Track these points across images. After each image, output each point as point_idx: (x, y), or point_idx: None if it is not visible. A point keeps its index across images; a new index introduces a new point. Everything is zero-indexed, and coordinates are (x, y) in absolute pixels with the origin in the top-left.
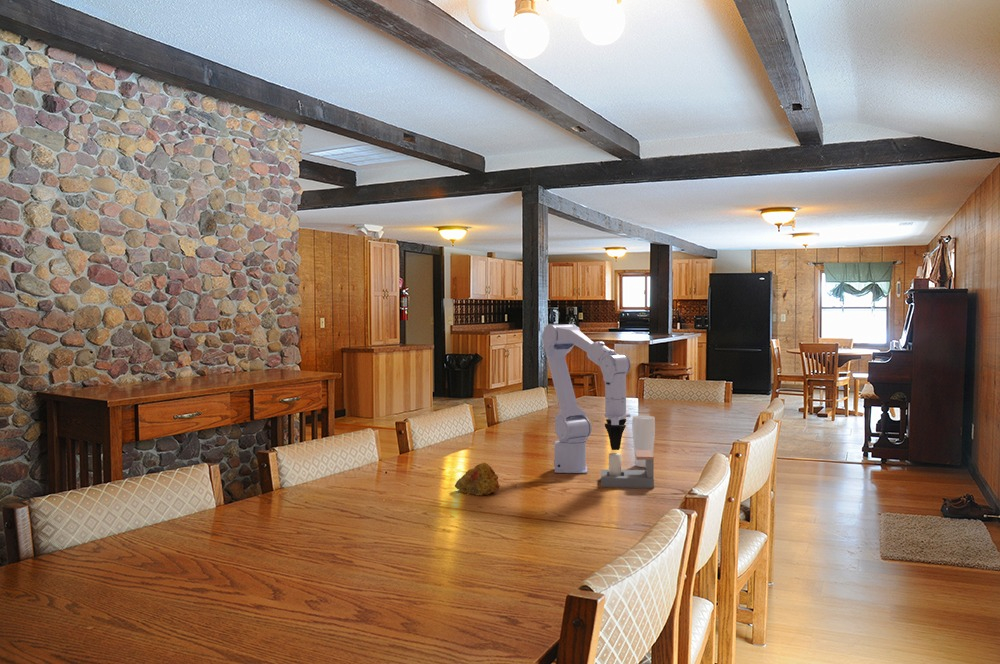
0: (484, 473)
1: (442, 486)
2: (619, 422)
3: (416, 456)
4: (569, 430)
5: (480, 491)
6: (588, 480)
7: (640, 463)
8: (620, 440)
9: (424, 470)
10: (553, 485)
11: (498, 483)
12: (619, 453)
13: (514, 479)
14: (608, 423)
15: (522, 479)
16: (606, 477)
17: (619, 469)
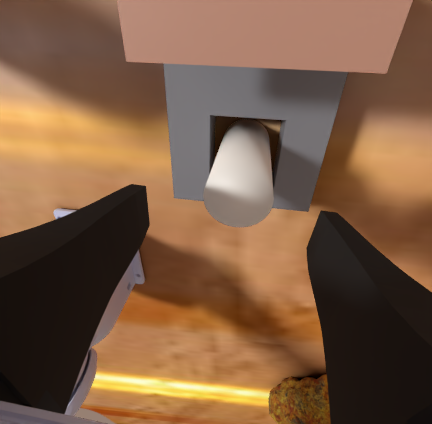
0: None
1: (266, 405)
2: (29, 331)
3: (87, 403)
4: (80, 391)
5: None
6: (213, 219)
7: None
8: (382, 258)
9: (168, 406)
10: (270, 294)
11: (326, 387)
12: (219, 174)
13: (214, 340)
14: (73, 377)
15: (213, 331)
16: (305, 193)
17: (265, 148)
